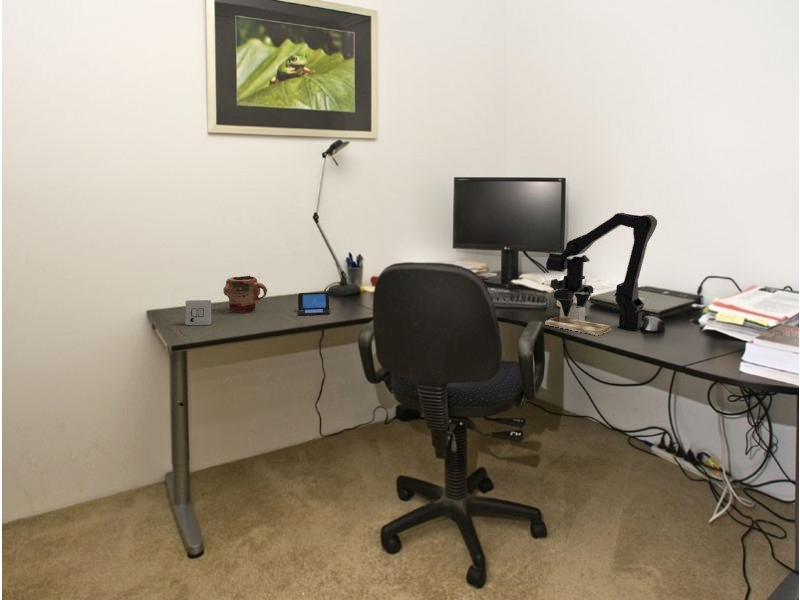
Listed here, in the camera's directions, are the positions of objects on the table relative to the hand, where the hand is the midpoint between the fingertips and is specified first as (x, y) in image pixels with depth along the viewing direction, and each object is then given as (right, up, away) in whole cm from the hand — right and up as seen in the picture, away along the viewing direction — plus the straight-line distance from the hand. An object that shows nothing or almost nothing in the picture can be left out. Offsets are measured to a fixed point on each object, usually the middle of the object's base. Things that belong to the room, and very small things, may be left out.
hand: (572, 314), depth 210 cm
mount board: (-2, -4, -12) cm, 13 cm away
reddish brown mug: (-127, +1, +19) cm, 129 cm away
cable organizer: (+6, +3, +24) cm, 25 cm away
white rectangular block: (0, -2, 0) cm, 2 cm away
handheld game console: (-99, 0, +16) cm, 101 cm away
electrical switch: (-139, -4, -1) cm, 139 cm away
